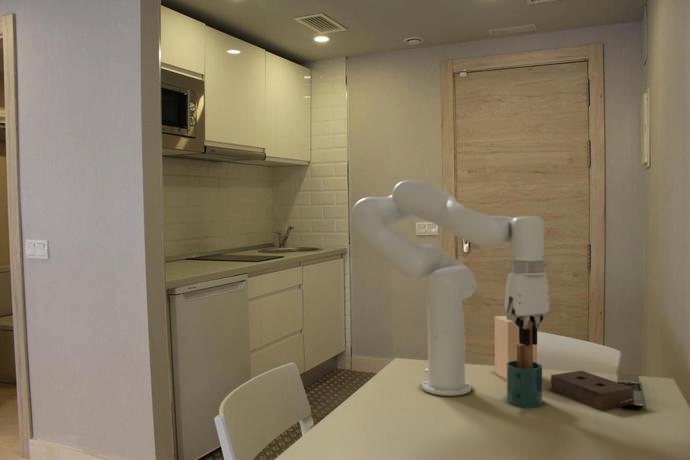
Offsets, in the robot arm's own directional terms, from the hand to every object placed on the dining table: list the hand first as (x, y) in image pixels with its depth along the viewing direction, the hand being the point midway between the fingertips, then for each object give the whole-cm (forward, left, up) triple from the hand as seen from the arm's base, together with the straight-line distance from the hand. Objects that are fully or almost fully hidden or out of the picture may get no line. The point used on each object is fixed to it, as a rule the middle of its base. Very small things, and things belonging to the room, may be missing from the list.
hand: (528, 343), depth 139 cm
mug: (0, -2, -14) cm, 15 cm away
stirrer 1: (-3, 0, -14) cm, 14 cm away
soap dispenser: (-19, +14, -15) cm, 28 cm away
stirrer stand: (+3, +17, -14) cm, 22 cm away
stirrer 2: (0, 0, -8) cm, 8 cm away
